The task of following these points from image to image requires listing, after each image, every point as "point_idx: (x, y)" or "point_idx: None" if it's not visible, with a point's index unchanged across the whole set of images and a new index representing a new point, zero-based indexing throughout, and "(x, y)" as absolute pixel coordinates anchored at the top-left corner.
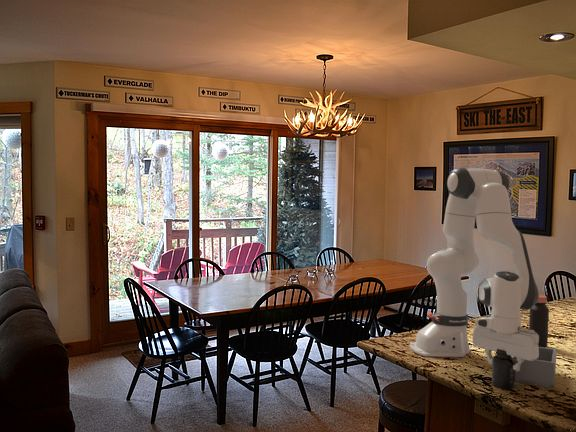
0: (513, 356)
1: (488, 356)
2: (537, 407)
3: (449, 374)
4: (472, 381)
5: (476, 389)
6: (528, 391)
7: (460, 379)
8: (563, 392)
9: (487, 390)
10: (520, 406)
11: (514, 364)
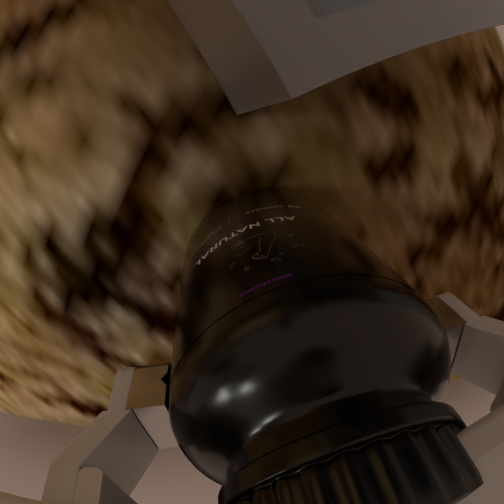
0: (282, 79)
1: (140, 466)
2: None
3: (17, 377)
4: (122, 365)
5: None
6: (404, 198)
7: (82, 388)
8: (488, 56)
9: None
10: None
11: None
